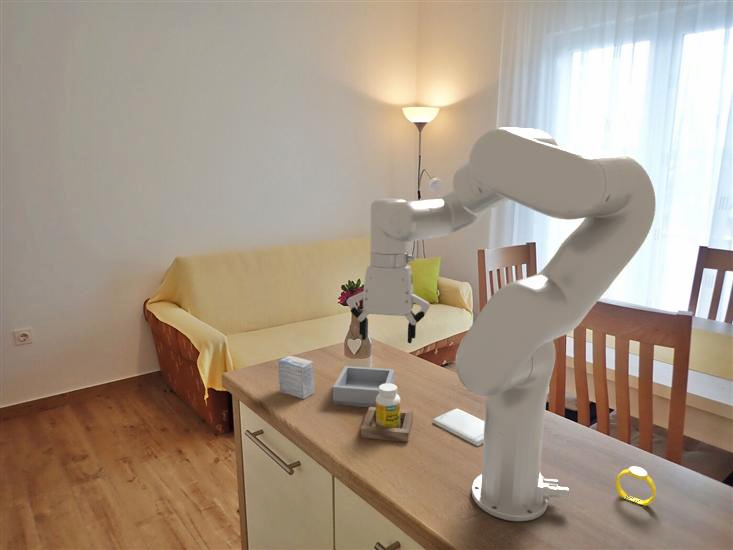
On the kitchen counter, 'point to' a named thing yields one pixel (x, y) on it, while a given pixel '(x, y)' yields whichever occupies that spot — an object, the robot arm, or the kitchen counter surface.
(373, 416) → the walnut square tray
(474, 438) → the hard drive
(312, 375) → the medicine box
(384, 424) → the supplement bottle
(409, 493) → the kitchen counter surface
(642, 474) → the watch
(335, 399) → the slate tray
